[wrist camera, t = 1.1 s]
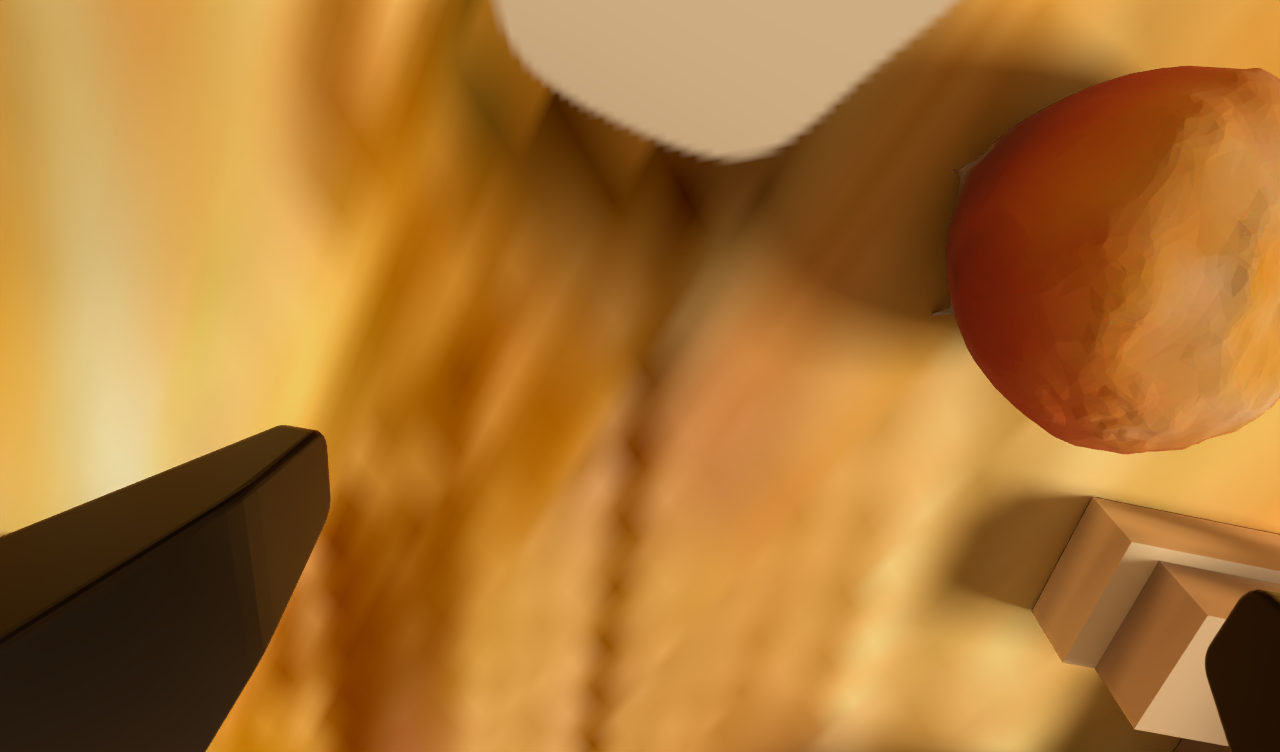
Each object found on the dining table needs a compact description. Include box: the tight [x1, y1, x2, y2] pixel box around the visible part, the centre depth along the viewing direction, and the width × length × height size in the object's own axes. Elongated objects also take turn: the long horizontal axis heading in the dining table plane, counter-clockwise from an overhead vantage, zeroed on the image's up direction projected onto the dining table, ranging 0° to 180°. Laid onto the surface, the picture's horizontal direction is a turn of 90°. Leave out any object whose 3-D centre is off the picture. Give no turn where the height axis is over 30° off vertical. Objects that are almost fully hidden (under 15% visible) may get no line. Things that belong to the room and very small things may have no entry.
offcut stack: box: [1032, 497, 1280, 746], centre depth 23 cm, size 7×4×4 cm, turn 78°
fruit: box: [931, 66, 1280, 454], centre depth 18 cm, size 8×8×8 cm
